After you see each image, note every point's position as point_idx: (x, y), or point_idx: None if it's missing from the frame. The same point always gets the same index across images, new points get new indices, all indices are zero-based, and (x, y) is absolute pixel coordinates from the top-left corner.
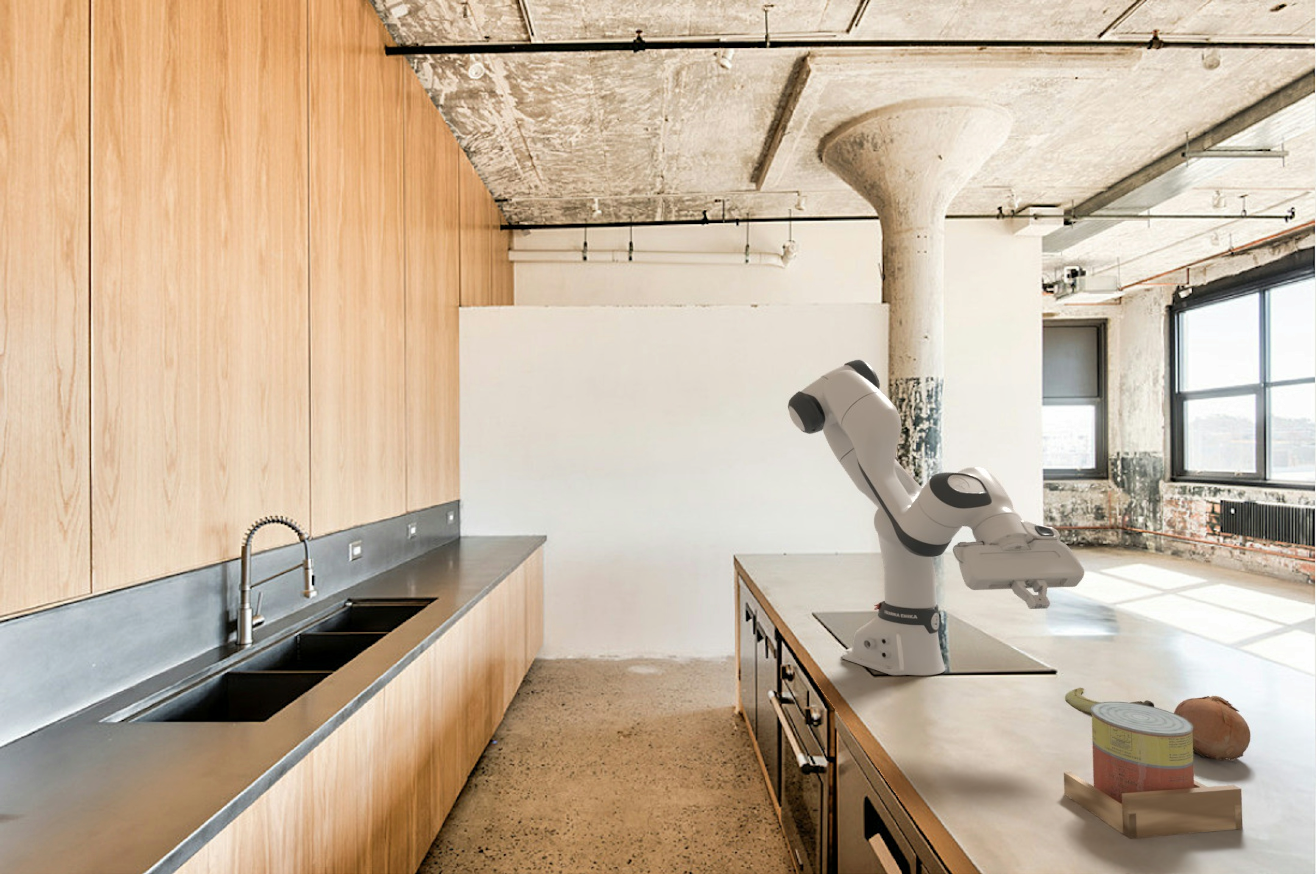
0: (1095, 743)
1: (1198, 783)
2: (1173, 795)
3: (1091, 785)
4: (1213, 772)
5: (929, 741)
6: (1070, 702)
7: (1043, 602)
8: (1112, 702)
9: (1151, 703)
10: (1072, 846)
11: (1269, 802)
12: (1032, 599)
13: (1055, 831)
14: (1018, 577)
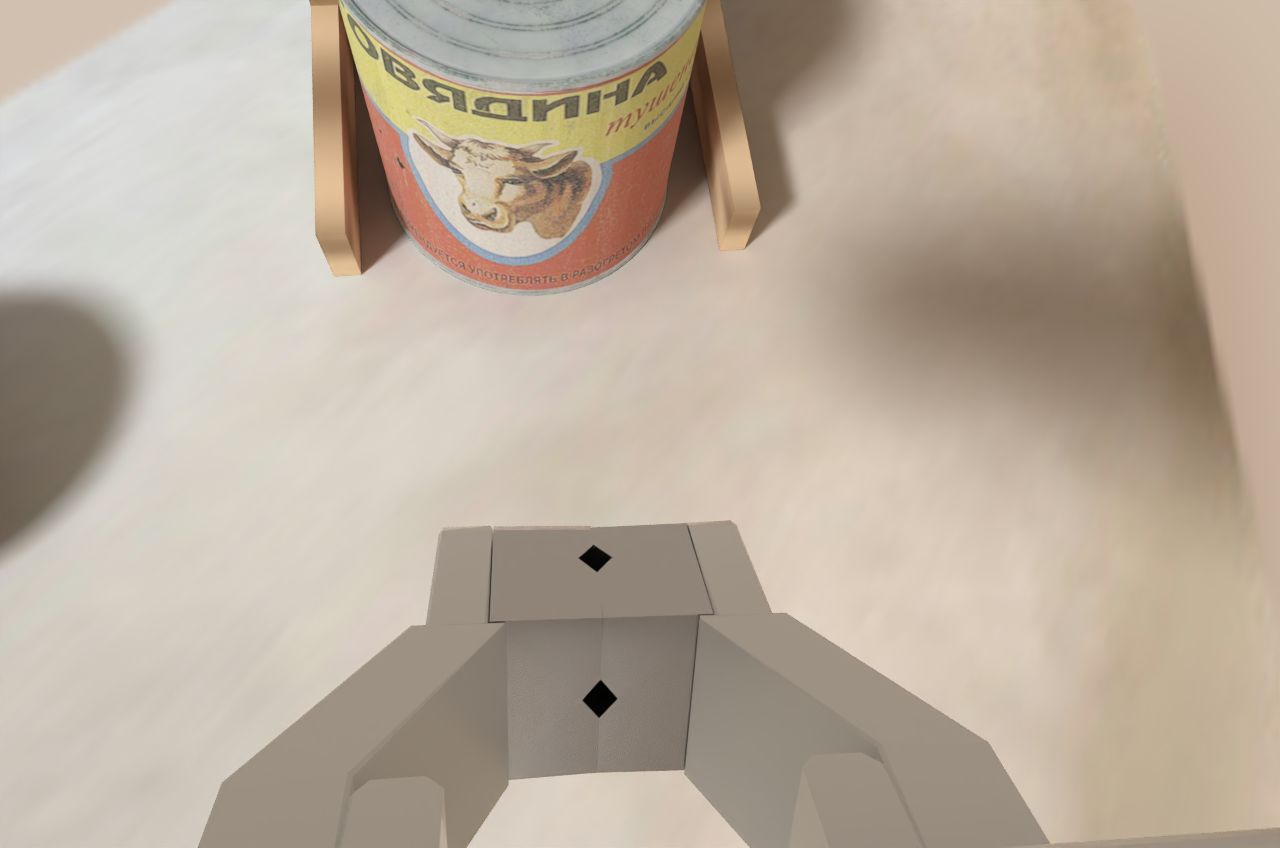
0: (691, 69)
1: (322, 104)
2: None
3: (720, 120)
4: (18, 370)
5: (1093, 706)
6: None
7: (556, 526)
8: (518, 79)
9: None
10: (877, 15)
11: (58, 160)
12: (735, 549)
13: (886, 73)
14: (1077, 842)
